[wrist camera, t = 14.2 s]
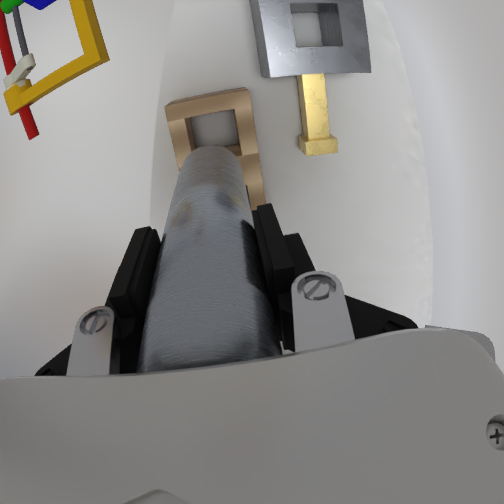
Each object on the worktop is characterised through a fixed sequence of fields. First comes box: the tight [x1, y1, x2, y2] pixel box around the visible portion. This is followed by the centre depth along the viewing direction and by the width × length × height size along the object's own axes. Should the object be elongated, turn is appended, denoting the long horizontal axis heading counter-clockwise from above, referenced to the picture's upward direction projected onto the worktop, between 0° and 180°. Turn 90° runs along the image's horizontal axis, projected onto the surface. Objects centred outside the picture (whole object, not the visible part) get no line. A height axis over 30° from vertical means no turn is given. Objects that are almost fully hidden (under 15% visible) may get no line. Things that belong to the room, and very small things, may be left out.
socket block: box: [249, 0, 371, 78], centre depth 24 cm, size 10×10×6 cm
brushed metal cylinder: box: [136, 145, 283, 373], centre depth 12 cm, size 4×4×15 cm
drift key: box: [296, 73, 338, 156], centre depth 30 cm, size 12×4×3 cm, turn 8°
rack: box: [165, 87, 266, 213], centre depth 29 cm, size 16×8×12 cm, turn 8°
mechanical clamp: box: [0, 0, 110, 140], centre depth 18 cm, size 18×6×30 cm
